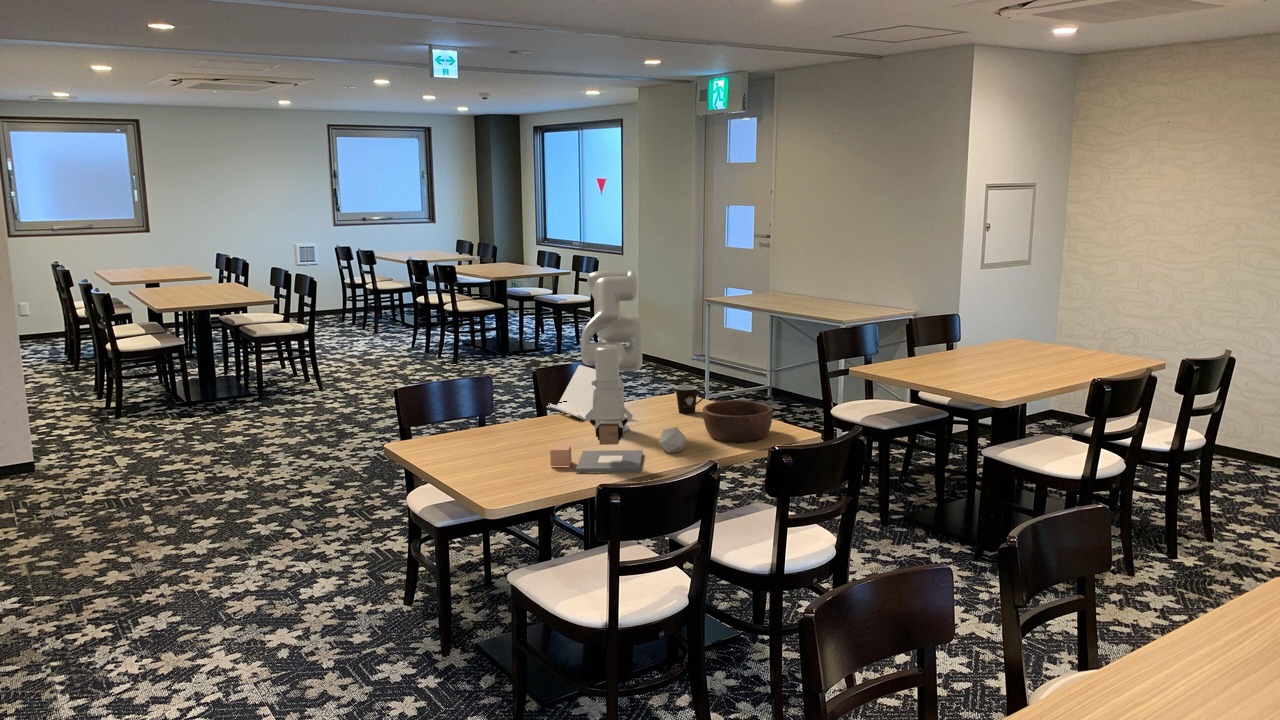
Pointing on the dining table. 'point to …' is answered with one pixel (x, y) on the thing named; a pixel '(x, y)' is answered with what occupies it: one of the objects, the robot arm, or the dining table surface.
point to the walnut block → (608, 433)
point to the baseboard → (610, 461)
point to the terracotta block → (560, 455)
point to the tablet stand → (578, 393)
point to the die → (672, 440)
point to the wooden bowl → (737, 420)
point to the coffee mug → (687, 398)
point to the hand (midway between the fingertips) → (609, 438)
